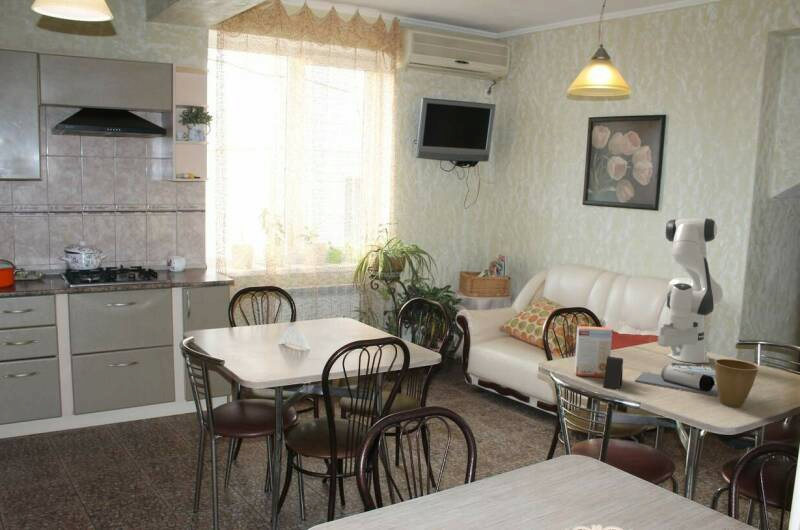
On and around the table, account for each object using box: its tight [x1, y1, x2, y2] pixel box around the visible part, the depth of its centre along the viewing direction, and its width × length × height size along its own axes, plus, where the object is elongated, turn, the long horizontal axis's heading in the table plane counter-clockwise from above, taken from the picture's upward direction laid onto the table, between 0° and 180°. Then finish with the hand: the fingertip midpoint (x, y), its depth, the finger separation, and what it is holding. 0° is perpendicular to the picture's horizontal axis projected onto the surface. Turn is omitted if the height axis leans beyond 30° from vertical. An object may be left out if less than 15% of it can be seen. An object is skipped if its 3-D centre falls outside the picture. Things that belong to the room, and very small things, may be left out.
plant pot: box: [714, 358, 759, 408], centre depth 268 cm, size 15×15×16 cm
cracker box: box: [573, 325, 613, 378], centre depth 301 cm, size 14×6×21 cm, turn 84°
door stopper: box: [602, 355, 624, 390], centre depth 286 cm, size 9×6×12 cm, turn 152°
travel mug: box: [660, 364, 716, 391], centre depth 290 cm, size 6×7×20 cm
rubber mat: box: [635, 371, 719, 397], centre depth 294 cm, size 16×32×1 cm, turn 59°
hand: (676, 355), depth 294 cm, fingers closed
